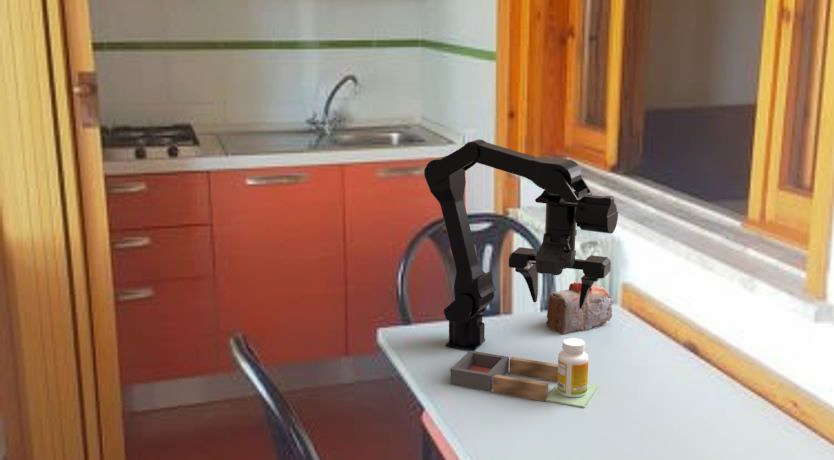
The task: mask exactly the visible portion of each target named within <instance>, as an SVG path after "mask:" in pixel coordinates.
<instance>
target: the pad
mask: <svg viewBox="0 0 834 460" xmlns="http://www.w3.org/2000/svg"><path fill="white" fill-rule="evenodd" d="M598 388H599V384H594V383H589V382H588V386H587V393H586V394H585V395H584V396H581V397H566V396H563V395H561V394H560V393H559V392H558V390H557V385H556V386H555V387H554V388H553V389H552V391H551V392H550V394H548V397H547V399H546V401H545V402H549V403H554V404H559V405H560V404H561V405H566V406H572V407H577V408H582V409H584V408H586V406H587V405H588V404H589V402H590V400H591V399H592V397H593V396H594V394H595V393H596V391H597V390H598Z"/></svg>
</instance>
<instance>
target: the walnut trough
mask: <svg viewBox="0 0 834 460" xmlns="http://www.w3.org/2000/svg"><path fill="white" fill-rule="evenodd" d="M509 375H515V376H522V377H527V378H532V379H538V380H539V379H540V380H544V381H545V380H546V381H551V382H557V383H558V363H551V362H546V361H541V360H533V359H526V358H521V357H514V356H511V357H509ZM492 393H497V394H502V395H507V396H512V397H519V398H523V399H524V398H525V399H529V400H536V401H540V402H541V401H542V402H547V401H546V399H547V397H548V396H549V394H548V393H549V383H548V382H542V381H537V380H529V379H524V378H519V377H512V376H506V375H505V376H502V375H496V374H495V375H494V376H493V389H492Z"/></svg>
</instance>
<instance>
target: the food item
mask: <svg viewBox="0 0 834 460" xmlns="http://www.w3.org/2000/svg"><path fill="white" fill-rule="evenodd" d="M581 286H582V282H575V281H574V282H573V283H570V284H569V286H568V289H563V290H560V291H552V292H551V293H550V292H549V296H548V302H547V303H548V304H547V312H546V318H547V319H546V322H545V324H546V325H545V326H546V327H547V328H548V329H549V330H552V331H554V332H557V333H559V334H560V335H564V334H569V333H572V332H577V331H582V332H587V331H589V330H592V328H594V327H597V326H601V325H605V324H606V323H607V321H608V322H610V320H611V319H612V317H613V303H614V299H613V297H612V296H611V295H610V294H609V293H608V291H607V290H606V288H604V287H602V286H601V285H598V284H593V285H592V287H591V289H590V291H589V294H588V296H587V298H586V301H585V303H584V305H583V308H582V309H580V308H579V301H580V293H581Z"/></svg>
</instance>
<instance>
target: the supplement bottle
mask: <svg viewBox="0 0 834 460" xmlns="http://www.w3.org/2000/svg"><path fill="white" fill-rule="evenodd" d="M561 347H562V350H561V351H560V352H559V353H558V356H557V357H558V358H557V359H558V360H557V364H558V382H557V385H556V386H557V390H558V392H559V393H560V394H561V395H563V396H566V397H581V396H584V395H585V394H586V393H587V386H588V383H589V382H588V381H589V355H588V353H586V352H585V350H586V342H585V341H584V339H581V338H577V337H572V338H571V337H570V338H565V339H563V340H562V346H561Z"/></svg>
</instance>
